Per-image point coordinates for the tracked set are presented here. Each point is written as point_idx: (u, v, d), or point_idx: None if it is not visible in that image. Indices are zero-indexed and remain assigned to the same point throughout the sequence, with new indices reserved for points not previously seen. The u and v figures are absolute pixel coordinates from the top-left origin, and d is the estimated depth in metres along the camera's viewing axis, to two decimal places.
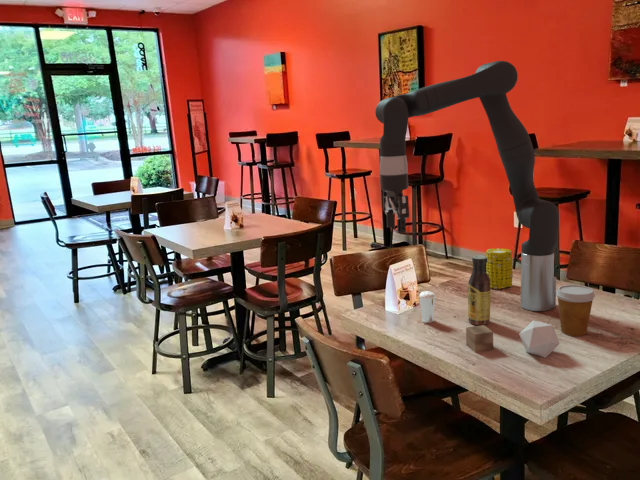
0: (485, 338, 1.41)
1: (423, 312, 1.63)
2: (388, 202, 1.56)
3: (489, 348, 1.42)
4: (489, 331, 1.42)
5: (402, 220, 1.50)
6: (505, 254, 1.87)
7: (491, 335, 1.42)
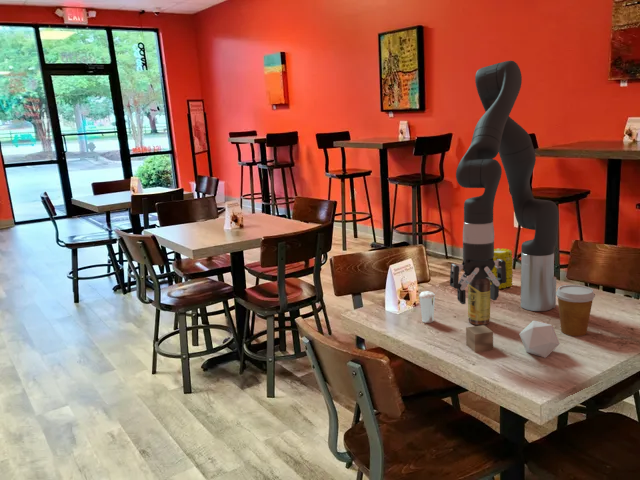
0: (485, 338, 1.41)
1: (423, 312, 1.63)
2: None
3: (489, 348, 1.42)
4: (489, 331, 1.42)
5: None
6: (505, 254, 1.87)
7: (491, 335, 1.42)
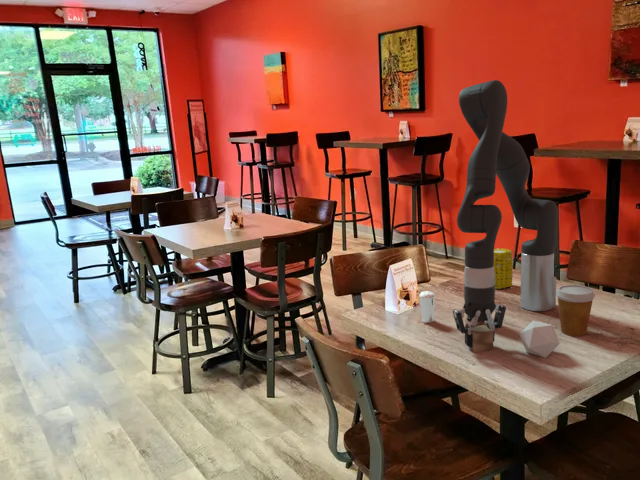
0: (485, 338, 1.41)
1: (423, 312, 1.63)
2: None
3: (489, 348, 1.42)
4: (489, 331, 1.42)
5: None
6: (505, 254, 1.87)
7: (491, 335, 1.42)
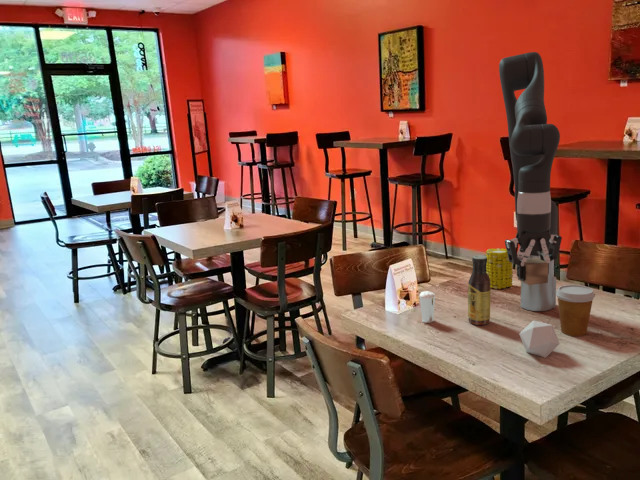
0: (540, 270, 1.33)
1: (423, 312, 1.63)
2: None
3: (544, 280, 1.33)
4: (544, 262, 1.33)
5: None
6: (505, 254, 1.87)
7: (546, 266, 1.33)
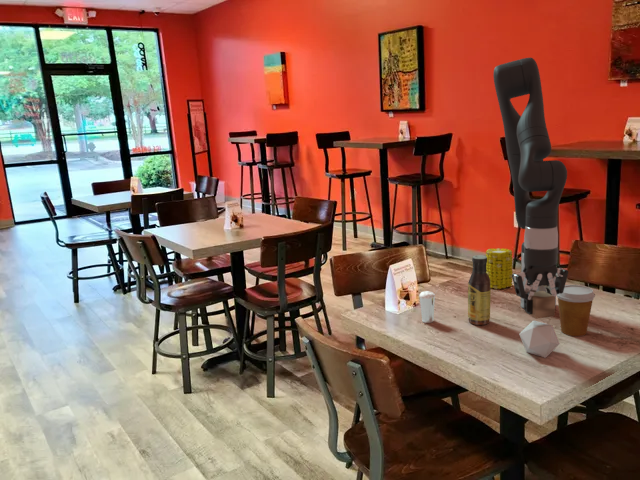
0: (547, 303, 1.34)
1: (423, 312, 1.63)
2: None
3: (550, 314, 1.34)
4: (551, 296, 1.34)
5: None
6: (505, 254, 1.87)
7: (553, 300, 1.34)
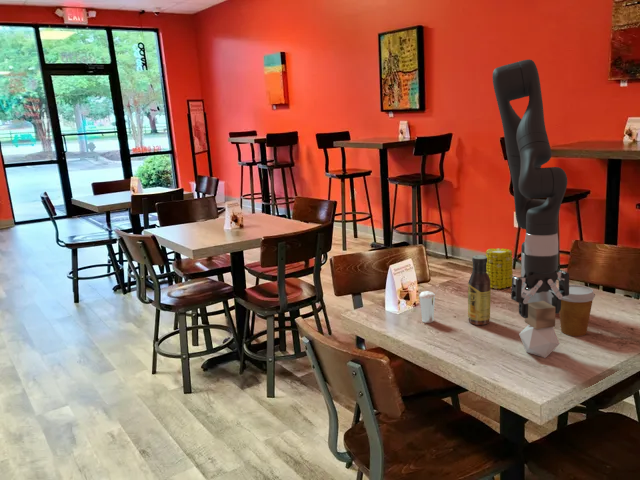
0: (547, 314, 1.34)
1: (423, 312, 1.63)
2: None
3: (551, 324, 1.35)
4: (551, 306, 1.35)
5: None
6: (505, 254, 1.87)
7: (553, 311, 1.34)
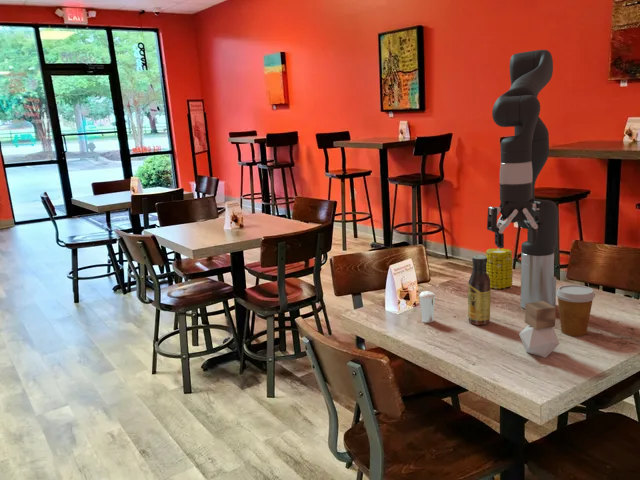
0: (547, 314, 1.34)
1: (423, 312, 1.63)
2: None
3: (551, 324, 1.35)
4: (551, 306, 1.35)
5: None
6: (505, 254, 1.87)
7: (553, 311, 1.34)
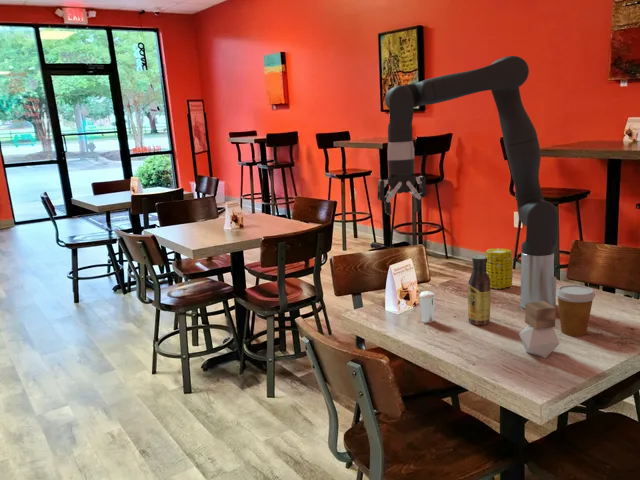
0: (547, 314, 1.34)
1: (423, 312, 1.63)
2: None
3: (551, 325, 1.35)
4: (551, 307, 1.35)
5: None
6: (505, 254, 1.87)
7: (553, 311, 1.34)
